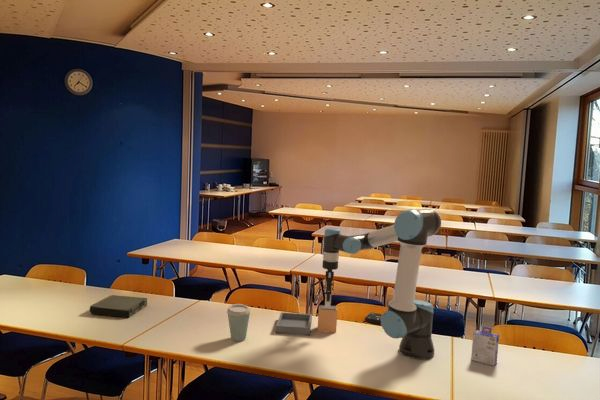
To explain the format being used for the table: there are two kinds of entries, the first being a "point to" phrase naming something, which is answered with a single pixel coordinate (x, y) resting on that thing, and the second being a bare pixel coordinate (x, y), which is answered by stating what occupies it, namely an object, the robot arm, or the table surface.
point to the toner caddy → (327, 318)
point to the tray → (294, 323)
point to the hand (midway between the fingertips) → (327, 303)
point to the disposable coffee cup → (238, 321)
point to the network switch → (118, 306)
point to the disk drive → (373, 318)
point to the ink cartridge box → (485, 346)
